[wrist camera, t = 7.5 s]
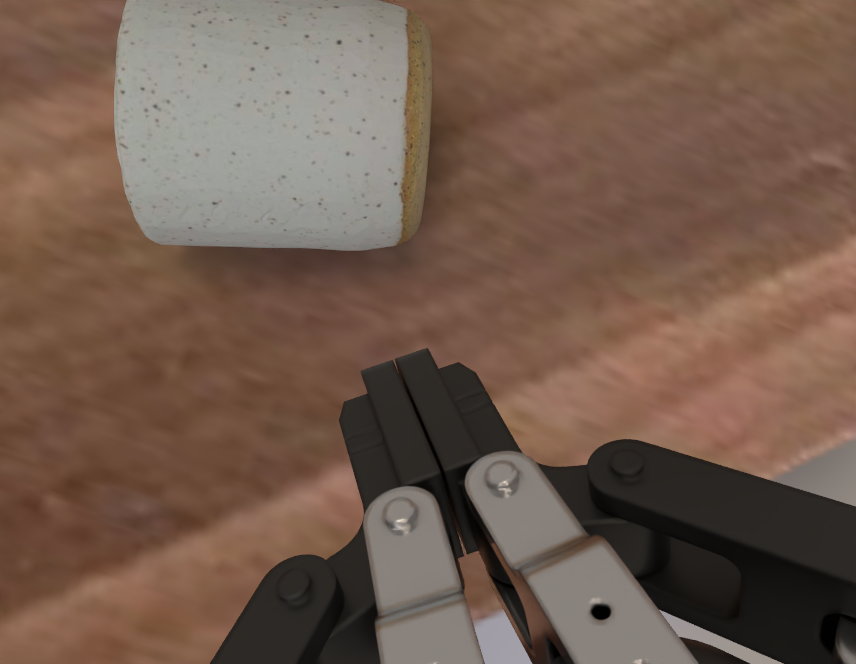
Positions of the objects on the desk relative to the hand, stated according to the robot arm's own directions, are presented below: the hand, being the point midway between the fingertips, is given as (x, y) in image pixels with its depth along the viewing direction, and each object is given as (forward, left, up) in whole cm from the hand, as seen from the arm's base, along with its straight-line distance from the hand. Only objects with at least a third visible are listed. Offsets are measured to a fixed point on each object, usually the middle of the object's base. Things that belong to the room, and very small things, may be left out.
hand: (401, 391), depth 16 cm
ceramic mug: (+7, +8, -9) cm, 14 cm away
